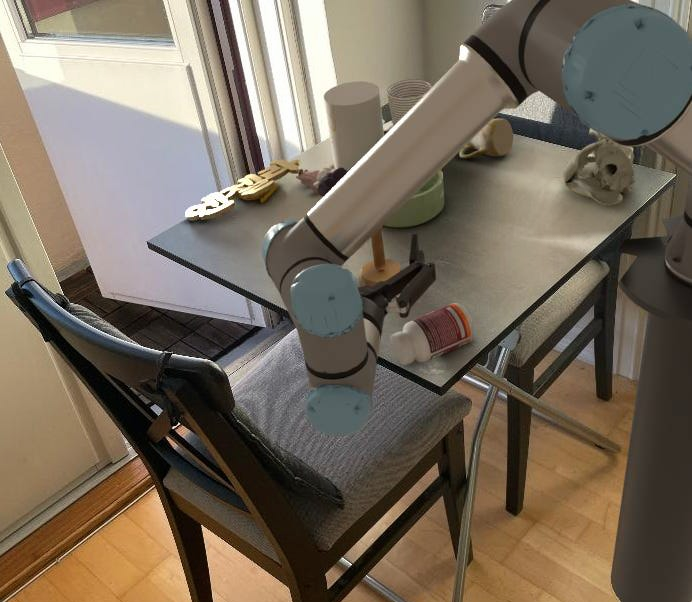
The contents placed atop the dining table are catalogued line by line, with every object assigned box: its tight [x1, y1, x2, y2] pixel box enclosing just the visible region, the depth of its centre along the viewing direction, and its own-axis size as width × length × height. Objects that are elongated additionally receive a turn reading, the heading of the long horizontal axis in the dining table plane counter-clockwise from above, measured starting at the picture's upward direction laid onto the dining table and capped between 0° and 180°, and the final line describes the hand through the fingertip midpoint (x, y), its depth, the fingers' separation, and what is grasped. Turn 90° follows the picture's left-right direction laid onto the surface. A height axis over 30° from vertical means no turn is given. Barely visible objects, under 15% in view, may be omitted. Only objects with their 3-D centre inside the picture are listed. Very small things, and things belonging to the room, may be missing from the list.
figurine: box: [295, 165, 348, 198], centre depth 154 cm, size 10×6×15 cm
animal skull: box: [562, 127, 636, 206], centre depth 142 cm, size 18×12×13 cm
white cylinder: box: [323, 81, 385, 172], centre depth 157 cm, size 10×10×16 cm
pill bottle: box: [389, 302, 475, 366], centre depth 115 cm, size 6×6×11 cm
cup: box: [386, 78, 433, 126], centre depth 155 cm, size 8×8×16 cm
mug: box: [459, 118, 514, 160], centre depth 158 cm, size 8×10×10 cm
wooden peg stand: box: [360, 227, 402, 293], centre depth 125 cm, size 6×6×20 cm
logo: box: [237, 182, 279, 204], centre depth 160 cm, size 7×1×8 cm
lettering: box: [185, 158, 301, 222], centre depth 158 cm, size 25×10×1 cm, turn 123°
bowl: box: [383, 169, 445, 228], centre depth 146 cm, size 14×14×6 cm
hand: (369, 243), depth 120 cm, fingers open, 13 cm apart
